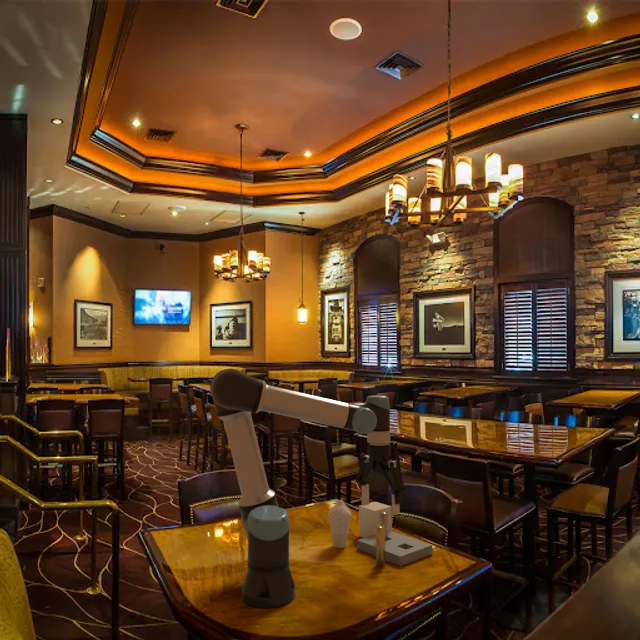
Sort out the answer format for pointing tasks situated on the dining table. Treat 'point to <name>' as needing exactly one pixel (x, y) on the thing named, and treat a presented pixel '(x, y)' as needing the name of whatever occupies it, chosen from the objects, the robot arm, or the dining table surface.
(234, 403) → the robot arm
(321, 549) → the dining table surface
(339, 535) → the soft serve ice cream cone
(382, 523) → the steel pin
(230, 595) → the dining table surface
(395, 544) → the socket board
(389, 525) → the block
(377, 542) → the brass pin
